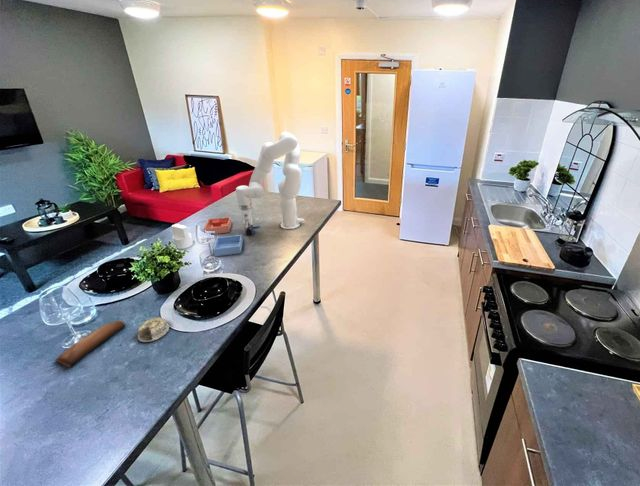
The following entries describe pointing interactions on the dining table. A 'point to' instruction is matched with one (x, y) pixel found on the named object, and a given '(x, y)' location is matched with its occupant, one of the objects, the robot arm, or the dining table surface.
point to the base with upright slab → (182, 236)
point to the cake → (152, 329)
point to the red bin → (221, 229)
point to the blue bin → (228, 245)
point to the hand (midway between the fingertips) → (249, 232)
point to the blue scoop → (253, 228)
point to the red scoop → (218, 223)
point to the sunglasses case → (88, 343)
